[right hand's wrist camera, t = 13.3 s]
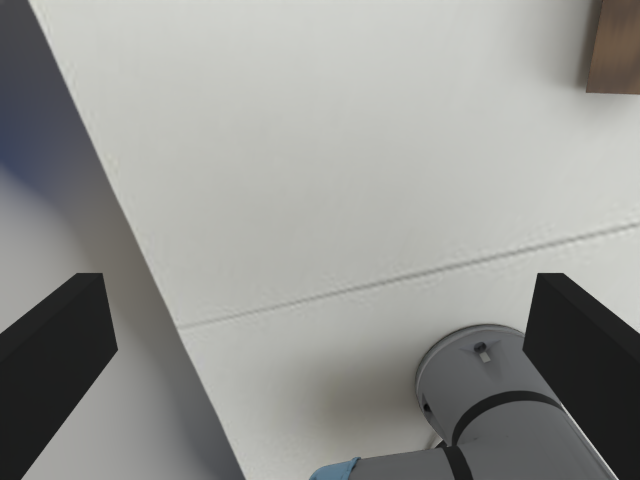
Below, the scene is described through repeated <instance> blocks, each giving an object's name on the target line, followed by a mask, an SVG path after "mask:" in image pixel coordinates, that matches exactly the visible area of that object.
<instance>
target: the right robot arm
mask: <svg viewBox="0 0 640 480" xmlns="http://www.w3.org/2000/svg"><path fill="white" fill-rule="evenodd" d="M117 351H118V348H117V343H116V338H115V333H114V328H113V323H112V318H111V313H110V308H109V303H108V298H107V294H106V289H105V284H104V279H103V274H102V273H76V274H75V275H74V276H73V277H71V278H70V279H69V280H68V281H66V282H65V283H64V284H63V285H61V286H60V287H59V288H57V289H56V290H55V291H54V292H52V293H51V294H50V295H49V296H47V297H46V298H45V299H44V300H42V301H41V302H40V303H39V304H37V305H36V306H35V307H34V308H32V309H31V310H30V311H28V312H27V313H26V314H25V315H23V316H22V317H21V318H20V319H18V320H17V321H16V322H15V323H13V324H12V325H11V326H10V327H8V328H7V329H6V330H5V331H3V332H2V333H1V334H0V480H21V479H22V478H23V476H24V475H25V474H26V472H27V471H28V469H29V468H30V467H31V465H32V464H33V463H34V461H35V460H36V459H37V457H38V456H39V455H40V453H41V452H42V451H43V449H44V448H45V447H46V445H47V444H48V443H49V441H50V440H51V439H52V437H53V436H54V435H55V433H56V432H57V431H58V429H59V428H60V427H61V425H62V424H63V423H64V421H65V420H66V419H67V417H68V416H69V415H70V413H71V412H72V411H73V409H74V408H75V407H76V405H77V404H78V403H79V401H80V400H81V399H82V397H83V396H84V395H85V393H86V392H87V391H88V389H89V388H90V387H91V385H92V384H93V383H94V381H95V380H96V379H97V377H98V376H99V375H100V373H101V372H102V371H103V369H104V368H105V367H106V365H107V364H108V363H109V361H110V360H111V359H112V357H113V356H114V355H115V353H116V352H117ZM415 390H416V395H417V398H418V402H419V405H420V408H421V410H422V412H423V414H424V416H425V417H426V419H427V421H428V422H429V423H430V425H431V426H432V427H433V428H434V429H435V431H436V432H437V433H438V434H439V435H440V437H441V438H442V439H443V441H442V442H441V443H439V444H438V445H437V446H436V447H435V448H434V449H428V450H421V451H414V452H407V453H400V454H393V455H386V456H379V457H373V458H366V459H361V457H355V458H353V459H352V460H351V461H348V462H343V463H338V464H333V465H328V466H324V467H321V468H319V469H318V470H317V471H315V472H314V473H313V475H312V476H311V477H310V479H309V480H616V478H615V477H614V476H613V474H612V473H611V472H610V470H609V469H608V468H607V466H606V465H605V464H604V462H603V461H602V460H601V458H600V457H599V456H598V454H597V453H596V452H595V450H594V449H593V448H592V446H591V445H590V444H589V442H588V441H587V440H586V438H585V437H584V436H583V434H582V433H581V432H580V430H579V429H578V428H577V426H576V425H575V424H574V422H573V421H572V420H571V419H570V417H569V416H568V415H567V413H566V412H565V411H564V409H563V408H562V406H561V403H562V404H563V405H564V407H565V408H566V409H567V411H568V412H569V413H570V415H571V416H572V417H573V419H574V420H575V421H576V423H577V424H578V425H579V427H580V428H581V429H582V431H583V432H584V433H585V435H586V436H587V437H588V439H589V440H590V441H591V443H592V444H593V445H594V447H595V448H596V449H597V451H598V452H599V453H600V455H601V456H602V457H603V459H604V460H605V461H606V463H607V464H608V465H609V467H610V468H611V469H612V471H613V472H614V474H615V475H616V476H617V478H618V479H619V480H640V334H639V333H638V332H637V331H635V330H634V329H633V328H632V327H630V326H629V325H628V324H627V323H625V322H624V321H623V320H622V319H620V318H619V317H618V316H617V315H615V314H614V313H613V312H612V311H610V310H609V309H608V308H606V307H605V306H604V305H603V304H601V303H600V302H599V301H598V300H596V299H595V298H594V297H593V296H591V295H590V294H589V293H588V292H586V291H585V290H584V289H583V288H581V287H580V286H579V285H577V284H576V283H575V282H574V281H572V280H571V279H570V278H569V277H567V276H566V275H565V274H564V273H538V274H537V279H536V284H535V289H534V294H533V298H532V303H531V308H530V313H529V318H528V323H527V328H526V333H525V335H524V334H523V333H521V332H519V331H517V330H514V329H512V328H508V327H504V326H498V325H481V326H474V327H469V328H465V329H462V330H460V331H457V332H455V333H453V334H451V335H449V336H447V337H445V338H444V339H442V340H441V341H439V342H438V343H437V344H436V345H435V346H434V347H432V348H431V349H430V351H429V352H428V353H427V354H426V356H425V357H424V358H423V360H422V362H421V363H420V366H419V368H418V371H417V374H416V379H415ZM560 401H561V402H560ZM447 446H449V447H447Z"/></svg>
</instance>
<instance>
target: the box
mask: <svg viewBox="0 0 640 480" xmlns="http://www.w3.org/2000/svg"><path fill="white" fill-rule="evenodd" d="M586 93H608V94H635V95H640V0H603V2H602V8H601V13H600V18H599V24H598V29H597V35H596V40H595V45H594V51H593V56H592V61H591V67H590V72H589V77H588V83H587V88H586Z"/></svg>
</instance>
